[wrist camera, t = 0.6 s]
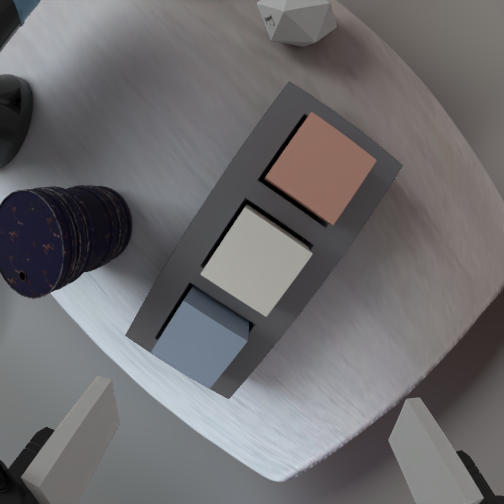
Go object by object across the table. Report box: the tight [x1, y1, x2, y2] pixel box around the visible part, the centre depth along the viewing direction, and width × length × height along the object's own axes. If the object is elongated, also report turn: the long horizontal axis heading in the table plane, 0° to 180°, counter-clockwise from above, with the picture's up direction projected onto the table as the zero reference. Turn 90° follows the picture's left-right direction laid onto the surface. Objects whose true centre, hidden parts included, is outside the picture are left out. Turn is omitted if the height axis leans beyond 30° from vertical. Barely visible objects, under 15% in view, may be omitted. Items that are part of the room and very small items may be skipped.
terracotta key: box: [265, 112, 377, 225], centre depth 28 cm, size 7×7×5 cm
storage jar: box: [0, 185, 132, 299], centre depth 29 cm, size 10×10×15 cm
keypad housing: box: [125, 81, 403, 399], centre depth 33 cm, size 14×32×6 cm, turn 146°
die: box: [256, 0, 337, 47], centre depth 27 cm, size 8×9×10 cm
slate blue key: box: [151, 285, 249, 389], centre depth 31 cm, size 7×7×5 cm
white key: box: [200, 204, 313, 317], centre depth 30 cm, size 7×7×5 cm
